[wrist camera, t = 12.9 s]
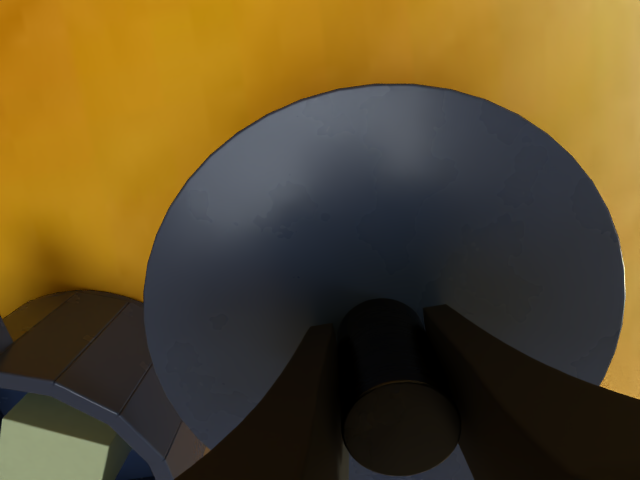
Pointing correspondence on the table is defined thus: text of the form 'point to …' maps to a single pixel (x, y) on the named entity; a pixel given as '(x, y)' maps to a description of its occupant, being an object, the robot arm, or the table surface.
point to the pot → (97, 375)
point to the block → (57, 443)
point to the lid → (379, 264)
